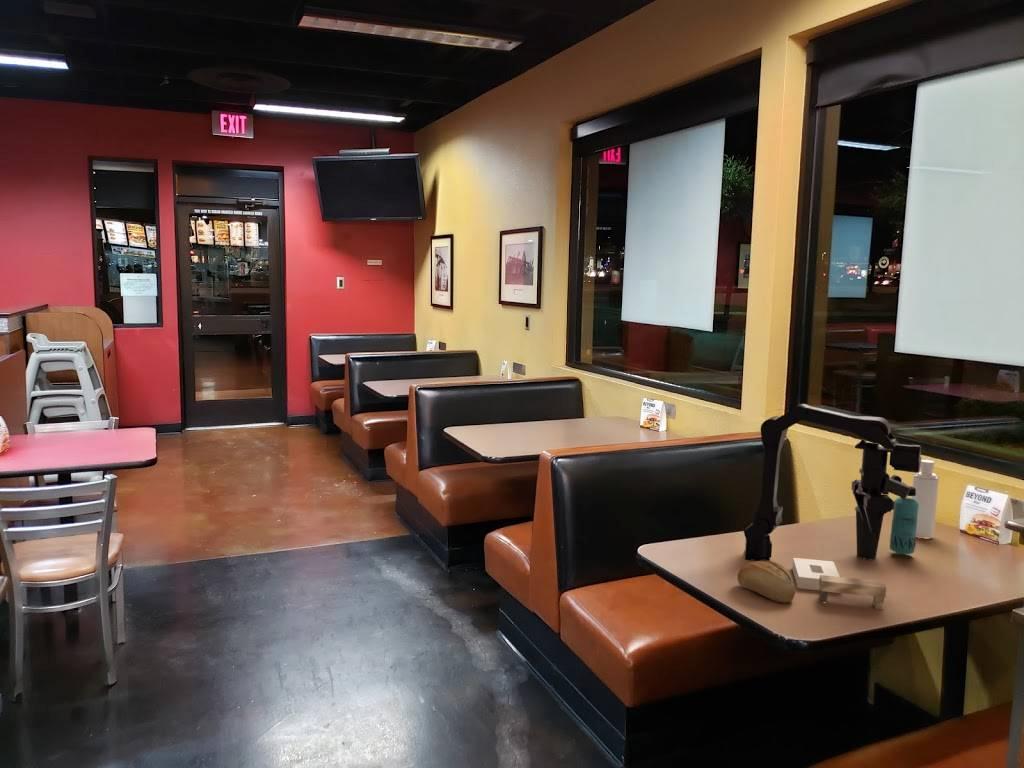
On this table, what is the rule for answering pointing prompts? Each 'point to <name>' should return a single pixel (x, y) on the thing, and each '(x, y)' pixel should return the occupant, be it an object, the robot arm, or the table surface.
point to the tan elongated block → (853, 588)
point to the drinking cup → (866, 537)
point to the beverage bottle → (904, 524)
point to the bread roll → (768, 580)
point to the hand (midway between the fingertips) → (869, 526)
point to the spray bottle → (926, 498)
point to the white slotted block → (812, 572)
